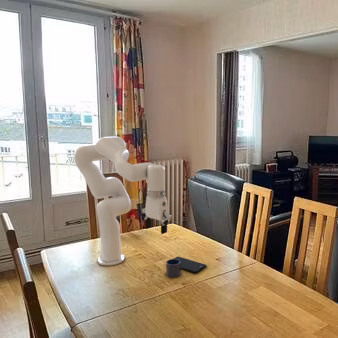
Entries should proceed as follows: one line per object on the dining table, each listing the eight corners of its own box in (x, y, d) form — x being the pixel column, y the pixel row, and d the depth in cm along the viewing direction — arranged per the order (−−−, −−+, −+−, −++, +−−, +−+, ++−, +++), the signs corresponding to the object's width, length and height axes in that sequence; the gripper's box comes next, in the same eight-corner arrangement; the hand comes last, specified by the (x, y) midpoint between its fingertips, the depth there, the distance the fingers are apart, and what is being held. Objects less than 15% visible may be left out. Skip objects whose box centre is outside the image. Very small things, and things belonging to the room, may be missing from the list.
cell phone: (177, 257, 167) (177, 256, 167) (206, 266, 158) (206, 264, 158) (166, 264, 160) (166, 262, 160) (195, 273, 151) (195, 271, 150)
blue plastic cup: (163, 274, 149) (162, 262, 149) (173, 269, 155) (173, 257, 154) (173, 279, 146) (173, 266, 145) (183, 273, 151) (183, 261, 150)
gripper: (176, 195, 141) (176, 232, 144) (148, 188, 151) (149, 224, 154) (164, 198, 135) (164, 237, 138) (136, 191, 145) (136, 228, 148)
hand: (156, 230), depth 146 cm, fingers open, 9 cm apart
